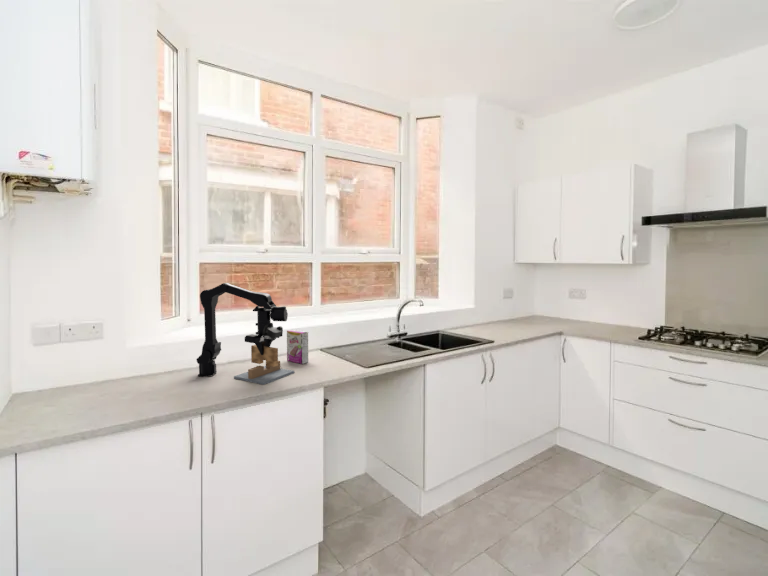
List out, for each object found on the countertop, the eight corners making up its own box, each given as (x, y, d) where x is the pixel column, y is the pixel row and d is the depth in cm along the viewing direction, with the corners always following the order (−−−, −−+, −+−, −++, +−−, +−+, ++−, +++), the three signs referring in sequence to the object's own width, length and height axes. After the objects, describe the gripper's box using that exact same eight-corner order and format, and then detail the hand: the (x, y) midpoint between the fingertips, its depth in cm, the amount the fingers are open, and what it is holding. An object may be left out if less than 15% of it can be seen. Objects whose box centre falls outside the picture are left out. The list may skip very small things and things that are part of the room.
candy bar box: (286, 361, 212) (286, 330, 211) (293, 359, 216) (293, 329, 215) (302, 364, 206) (301, 332, 205) (308, 362, 210) (308, 331, 209)
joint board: (263, 384, 174) (263, 373, 173) (234, 378, 182) (233, 367, 181) (294, 372, 191) (294, 362, 191) (265, 367, 200) (265, 357, 199)
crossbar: (251, 362, 188) (251, 345, 188) (255, 361, 190) (255, 344, 190) (274, 366, 182) (274, 349, 181) (277, 365, 184) (277, 348, 183)
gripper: (262, 325, 173) (262, 361, 174) (291, 319, 189) (291, 352, 190) (243, 323, 178) (243, 357, 179) (273, 317, 194) (273, 349, 195)
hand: (264, 354), depth 186 cm, fingers closed on crossbar, 2 cm apart
